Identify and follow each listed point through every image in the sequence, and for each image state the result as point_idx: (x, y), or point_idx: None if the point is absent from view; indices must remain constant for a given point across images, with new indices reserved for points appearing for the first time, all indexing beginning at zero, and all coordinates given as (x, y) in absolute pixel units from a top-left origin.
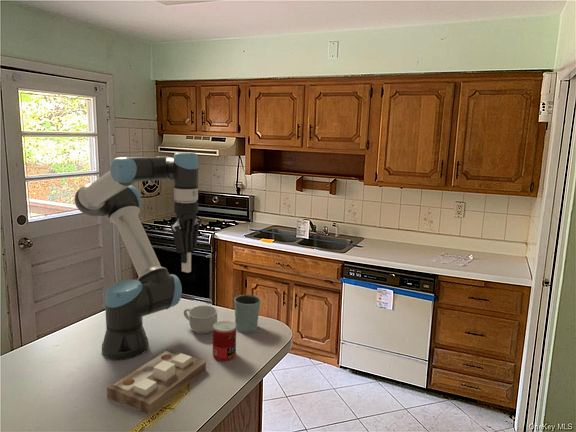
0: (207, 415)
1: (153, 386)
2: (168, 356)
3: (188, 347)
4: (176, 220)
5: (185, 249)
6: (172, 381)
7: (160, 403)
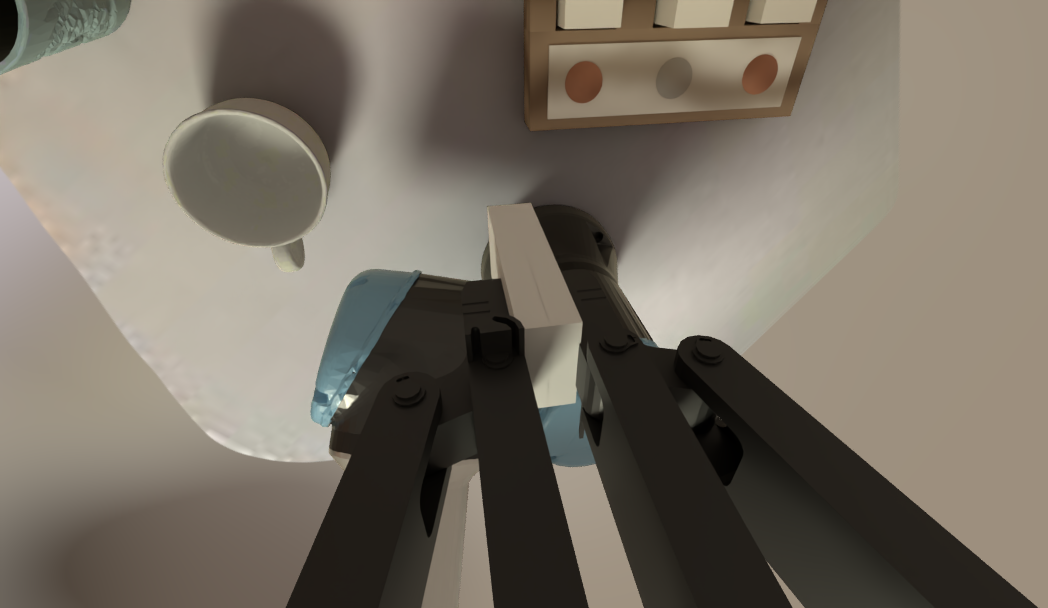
0: None
1: None
2: (576, 78)
3: (423, 102)
4: None
5: (659, 373)
6: None
7: None
